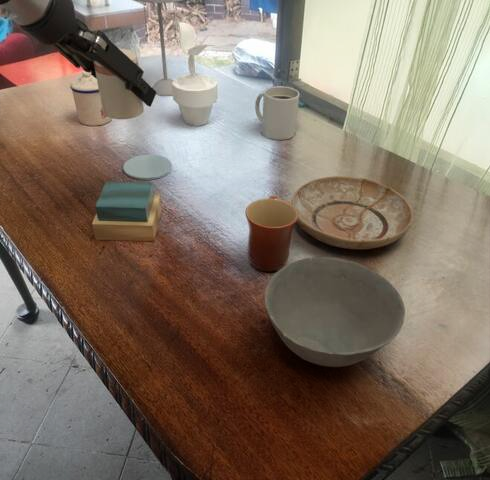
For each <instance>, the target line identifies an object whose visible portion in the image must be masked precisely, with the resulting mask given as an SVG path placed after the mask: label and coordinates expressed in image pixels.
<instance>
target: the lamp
mask: <svg viewBox="0 0 490 480" xmlns="http://www.w3.org/2000/svg"><path fill="white" fill-rule="evenodd" d="M133 1H135V2H138V3H139V2H140V3H143V5H145V3H147V4H156V5H157V6H156V8H157V18H158V19H157V20H158V29H159V30H158V31H159V39H160V41H159V42H160V50H161V62H162V73H163V78H160V79H158V80H157V81H155V82H154V83H153V85H152V86H151V87H152V88H153V89H154V90H155V91H156V92H157V93H156V95H157V96H161V97H164V96H165V97H169V96H173V89H172V83H173V80H174V79H171V78H168V68H167V57H166V46H165V45H166V44H165V36H164V35H165V34H164V23H163V12H162V4H170V3H172V8H173V11H175V3H178V2H182V1H184V0H133ZM143 10H144V11H143V12H144V13H146V8H145V6H143ZM146 16H147V15H144V21H147V17H146ZM174 20H175V14H173V21H174ZM147 26H148V25H147V23H145V29H146V30H148V27H147ZM173 35H174V36H173V37H174V38H177V36H178V33H177V30H174V34H173ZM145 37H147V38H149V34H148V32H146V34H145Z"/></svg>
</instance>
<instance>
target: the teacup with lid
mask: <svg viewBox="0 0 490 480" xmlns="http://www.w3.org/2000/svg"><path fill="white" fill-rule="evenodd" d="M69 88H70V90H71V92H72V96H73V101H74V104H75V110H76V114H77V118H78V121H79V122H80V124H82V125H85V126H89V127H91V126H93V127H95V126H97V127H98V126H103V125H106V124H108V123H110V122H111V121H112V119H113V118H109V117H107V116H105V115H104V114H103V110H102V105H101V99H100V94H99V89H98V84H97V79H96V78H95V77H93V76H92V75H91V72H90V73H88V72H86V71H84V70H83V71H82V72H81V75H80V76H78V77H77V78H75V79H73V80H72V81H71V82H70V85H69Z"/></svg>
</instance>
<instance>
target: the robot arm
mask: <svg viewBox="0 0 490 480" xmlns="http://www.w3.org/2000/svg"><path fill="white" fill-rule="evenodd" d="M1 17H2V18H3V19H4V20H7V19H11V21H13V22H14V23H15V24H17V25H18V26H19V27H20V29H22V30H23V31H24V32H25V33H27V34H28V35H29V36H30V37H32V38H33V39H34V40H36V42H38V43H40V44H41V45H44V46H52V48H54V49H55V50H56V51H57V52H59V53H60V55H62V56H63V57H64V58H65V59H66V60H67V61H68V62H69V63H70V64H72V65H73V66H74V67H75V68H77V69H80V68H81V69H82V70H83V71H86V72H88V73H91V75H92V76H93V77H95V78H96V73H95V69H94V64H93V61H96V62H97V63H99V64H100V65H101V66H103V67H104V68H106V69H107V70H108V71H110V72H111V73H112V74H114V75H115V76H117V77H118V78H119V79H121V80H122V81H124V82H125V83H126V84H125V86H126V88H125V89H127V90H129V91H130V90H131V91H132V92H133V93H134V94H135V95H136V96H137V97H138V98H140V99H141V100H142V101H143V104H144V105H146V106H147V107H152V105H153V102H154V100H155V98H156V95H157V94H156V93H157V92H156V91H155V90H154V89H153V88H152V87H153V86H151V85H150V83H148V82H147V81H146V80H145V79H144V78H143V76H144V73H145V71H144V70H143V69H142V68H141V67H140V65H139V66H137V65H136V64H135V63H134V62H133V61H132V60H131V59H130V58H129V57H127V56H126V55H125V54H124V53H123V52H122V51H121V50H120V49H121V48H120V47H117V46H116V44H114V43H113V42H112V41H111V40H110V39H109V37H108V36H107V34H106V33H105V32H104V31H102V30H99V29H98V30H97V31H96V33H95V32H93V31H92V30H90V28H89V27H88V25H87V24H85V23H84V22H83V21H82V20H80V19H78V18H76V11H75V5H74V2H73V0H0V18H1ZM96 79H97V78H96Z"/></svg>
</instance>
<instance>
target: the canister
mask: <svg viewBox="0 0 490 480" xmlns="http://www.w3.org/2000/svg"><path fill="white" fill-rule="evenodd" d="M119 49H120V50H121V51H122V52H123V53H124V54H125V55H126V56H127V57H129V58H130V59H131V60H132V61H133V62H134V63H135V64H136V65H137V66H139V67H140V65H139V59H138V54H137V53H136V52H135V51H134V50H131V49H126V48H119ZM93 64H94V69H95V73H96V78H97V84H98V89H99V94H100V99H101V105H102V110H103V114H104V115H105V116H107V117H109V118H112V119H113V120H130V119H134V118H137V117H140V116H141V115H142V114H144V111H145V110H144V109H145V108H144V102H143V101H142V100H141V99H140V98H138V97H137V96H136V95H135V94H134V93H133V92H132V91H131V90H130V91H129V90H127V89H125V88H126V86H125V84H126V83H125V82H124V81H122V80H121V79H119V78H118V77H117V76H115V75H114V74H112V73H111V72H110V71H108V70H107V69H106V68H104V67H103V66H101V65H100V64H99V63H97V62H96V61H93Z"/></svg>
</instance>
